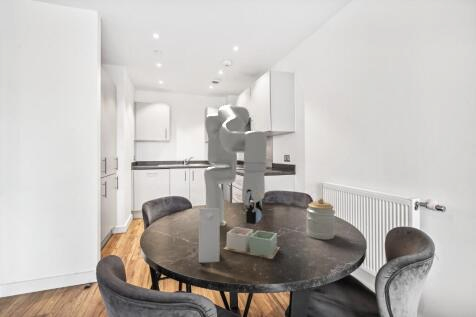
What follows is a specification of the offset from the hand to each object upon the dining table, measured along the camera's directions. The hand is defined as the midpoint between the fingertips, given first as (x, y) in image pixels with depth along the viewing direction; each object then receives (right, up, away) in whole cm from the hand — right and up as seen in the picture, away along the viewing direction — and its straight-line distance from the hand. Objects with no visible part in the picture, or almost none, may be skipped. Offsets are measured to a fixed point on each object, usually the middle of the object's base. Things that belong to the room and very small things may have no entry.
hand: (254, 220), depth 77 cm
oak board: (0, -16, +13) cm, 20 cm away
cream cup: (-5, -14, +15) cm, 21 cm away
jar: (+34, -16, +31) cm, 49 cm away
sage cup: (+4, -15, +11) cm, 18 cm away
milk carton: (-16, -16, +4) cm, 23 cm away
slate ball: (0, -1, 0) cm, 1 cm away
